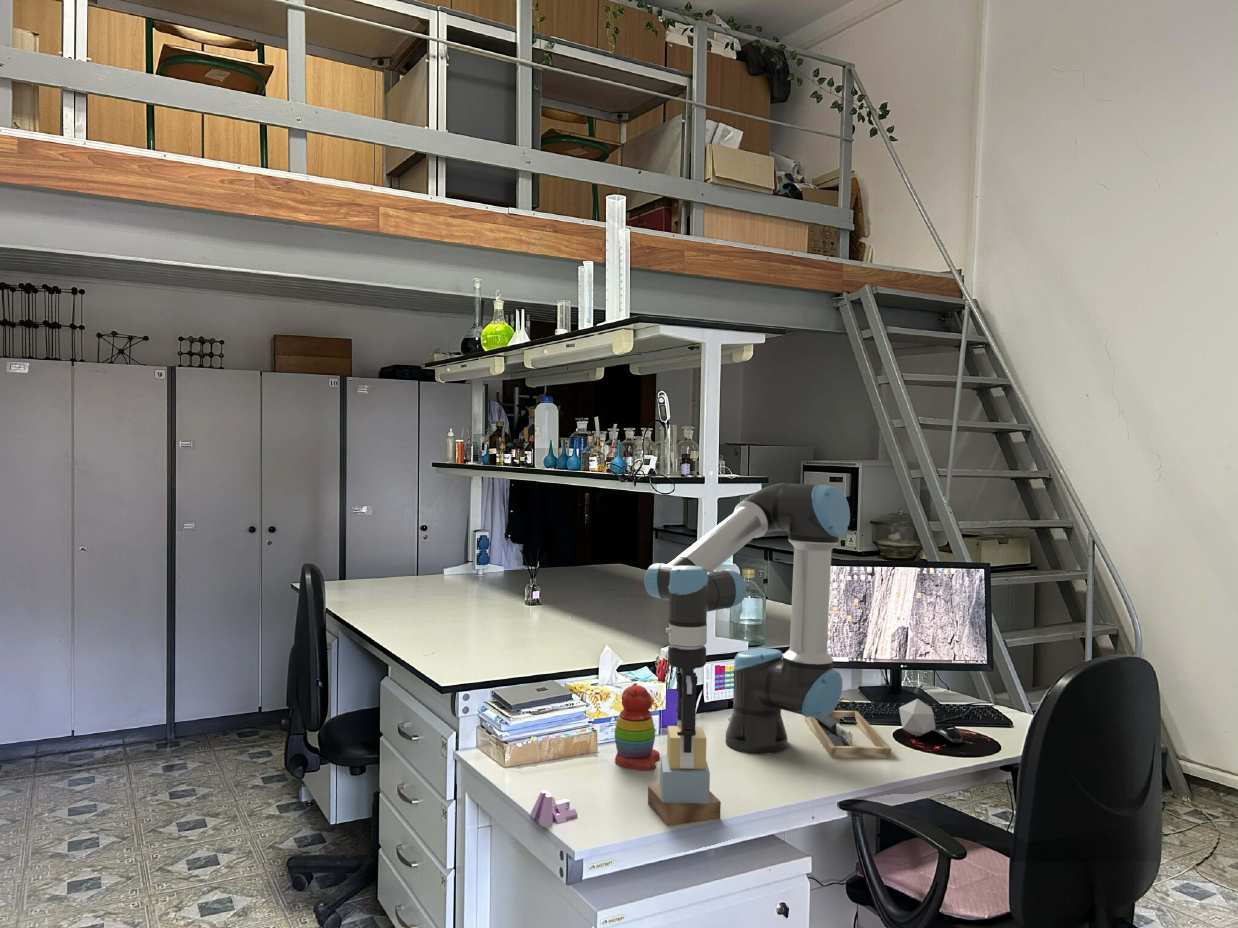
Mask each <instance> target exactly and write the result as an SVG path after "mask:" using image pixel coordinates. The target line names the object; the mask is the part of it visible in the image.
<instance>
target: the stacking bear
mask: <svg viewBox="0 0 1238 928" xmlns="http://www.w3.org/2000/svg"><path fill="white" fill-rule="evenodd" d="M654 702H655V699H654V697H653V696H652V695H651V694H650V692H649V691H648V690H647V688H646V687H645V686H642V685H638V683H637V682H634V683H633V684H632V685H631V686H628V687H626V688H625V689H624V690H623V692H622V693H621V703H622V704H621V705H622V706H623V709H622V710H621V711H620V713H619V714H618V716H617V719H616V723H615V729H614V741H615V747H616V755H615V758H614V762H615V763H616V765H618V766H619V765H620V767H622V766H623V767H622V768H624V767H625V769H628V768H629V769H628V770H633V769H635V770H634V771H641V772H643V771H644V772H649V771H654V770H655V769H656V763H655V762H656V761H658V760H660V759H661V754H660V752H659V750H656V749H655V748H654V745H655V740H656V729H655V723H654V719H653V716H652V712H651V711H650V709H651V708H652V706H653V704H654Z"/></svg>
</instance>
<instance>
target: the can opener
mask: <svg viewBox="0 0 1238 928" xmlns="http://www.w3.org/2000/svg"><path fill="white" fill-rule="evenodd" d="M815 719H816V720H817V722H818V724H819V725H820V726H821V728H822V729H823V731H824V732H825V733H826V735H827V736H828V738H829V739H830V740H831V742H832V743H833V744H834V746H853V736H854V734H853V733H851V731H850V730H848V729H847V728H845V727H844V726H843V725H842V723H839V722H837V721H836V720H834V719H833V718H831V717H830V716H827V717H825V718H821V719H819V718H815Z"/></svg>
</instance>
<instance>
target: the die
mask: <svg viewBox="0 0 1238 928" xmlns="http://www.w3.org/2000/svg"><path fill="white" fill-rule="evenodd" d="M898 710H899V716H900V722H901V726H902V730H904V731H905V732H907V733H909V734H911V735H912V736H913V735H915V736H914V737H918V736H919V737H921V736H923V735H925V734H927V733H929V732H932V731H934V730H936V721H935V714H934V712H933V709H932V707H931V706H930V705H928V704H926V703H925V702H923V701H922V700H920V699H919V698H916V699H914V700H912V701H910V702H907V703H906V704H904V705H902V706H900V707H899V708H898ZM933 729H934V730H933ZM931 730H932V731H931Z"/></svg>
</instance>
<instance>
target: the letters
mask: <svg viewBox="0 0 1238 928" xmlns="http://www.w3.org/2000/svg"><path fill="white" fill-rule="evenodd" d="M570 804H571V801H570V800H569V799H566V798H565V799H562V800H555V797H554V796H552V795H551V793H550V792H548V791H547V790H541V791H540V793H539V795H538V797H537V799H536V802H535V803H534V805H533V808H532V810H531V811H530V814H529V817H531V819H533V820H536V819H537V818H538V825H539V826H541V827H542V828H545V827H550V826H553V825H554V822H555V823H556V824H563V823H568V820H569V821H570V820H572V819H578V813H577V810H576V809H575V808H573V809H570V808H571V807H570V806H571V805H570Z"/></svg>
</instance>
